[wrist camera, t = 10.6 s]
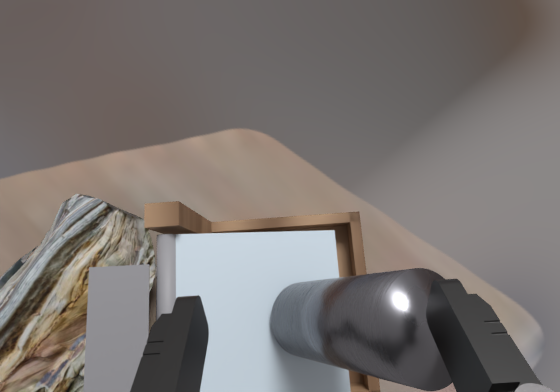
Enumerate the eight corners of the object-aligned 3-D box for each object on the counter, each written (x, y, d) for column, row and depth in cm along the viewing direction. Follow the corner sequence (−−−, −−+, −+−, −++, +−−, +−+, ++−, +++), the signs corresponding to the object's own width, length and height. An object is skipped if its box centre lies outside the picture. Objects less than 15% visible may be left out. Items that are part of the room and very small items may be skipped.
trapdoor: (88, 433, 19) (80, 452, 17) (97, 240, 22) (90, 235, 19) (336, 386, 24) (354, 396, 22) (321, 234, 27) (337, 229, 24)
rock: (-43, 392, 33) (70, 502, 29) (-146, 429, 26) (-17, 579, 23) (79, 172, 33) (207, 253, 30) (7, 154, 27) (161, 255, 23)
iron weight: (273, 362, 21) (392, 402, 12) (268, 284, 22) (373, 271, 13) (336, 351, 23) (479, 379, 14) (328, 280, 24) (455, 265, 15)
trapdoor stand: (187, 400, 29) (120, 479, 18) (185, 229, 32) (127, 205, 21) (372, 389, 29) (422, 462, 18) (353, 217, 32) (385, 186, 21)
